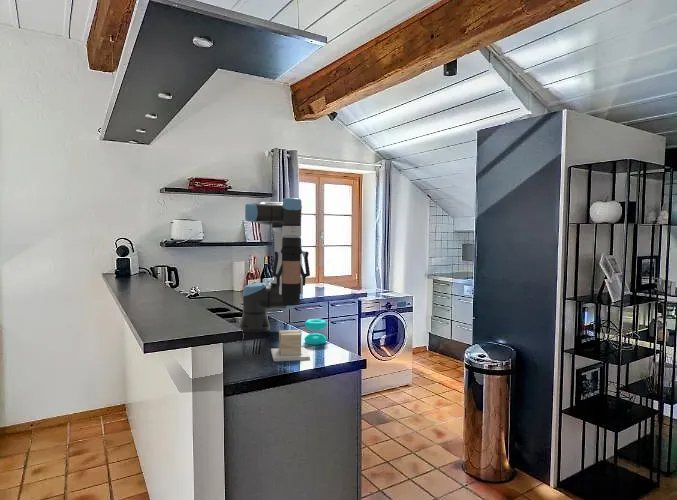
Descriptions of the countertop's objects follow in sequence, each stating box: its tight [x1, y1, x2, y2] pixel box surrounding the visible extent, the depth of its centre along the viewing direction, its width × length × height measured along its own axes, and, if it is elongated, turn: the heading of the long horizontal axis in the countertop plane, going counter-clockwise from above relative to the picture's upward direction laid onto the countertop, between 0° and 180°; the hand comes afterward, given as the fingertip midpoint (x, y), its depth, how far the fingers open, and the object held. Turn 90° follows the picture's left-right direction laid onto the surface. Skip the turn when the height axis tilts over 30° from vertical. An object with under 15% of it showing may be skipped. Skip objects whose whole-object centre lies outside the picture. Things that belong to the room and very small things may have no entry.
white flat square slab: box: [270, 346, 311, 362], centre depth 178 cm, size 14×14×1 cm
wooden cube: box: [278, 329, 302, 355], centre depth 178 cm, size 8×8×8 cm
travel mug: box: [282, 254, 302, 307], centre depth 177 cm, size 8×8×20 cm
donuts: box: [304, 318, 328, 346], centre depth 200 cm, size 10×10×10 cm
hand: (290, 293), depth 177 cm, fingers closed on travel mug, 8 cm apart
